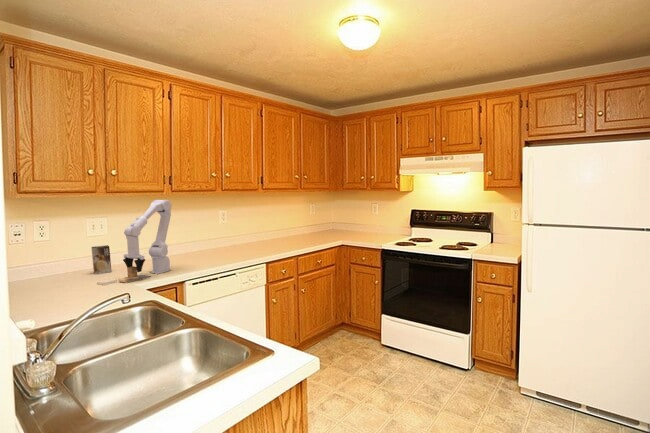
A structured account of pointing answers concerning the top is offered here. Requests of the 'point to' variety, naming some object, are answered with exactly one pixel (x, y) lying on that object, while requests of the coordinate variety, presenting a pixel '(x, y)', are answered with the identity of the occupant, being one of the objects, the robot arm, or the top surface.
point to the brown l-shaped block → (130, 274)
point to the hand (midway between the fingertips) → (134, 271)
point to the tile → (106, 282)
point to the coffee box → (101, 259)
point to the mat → (139, 278)
